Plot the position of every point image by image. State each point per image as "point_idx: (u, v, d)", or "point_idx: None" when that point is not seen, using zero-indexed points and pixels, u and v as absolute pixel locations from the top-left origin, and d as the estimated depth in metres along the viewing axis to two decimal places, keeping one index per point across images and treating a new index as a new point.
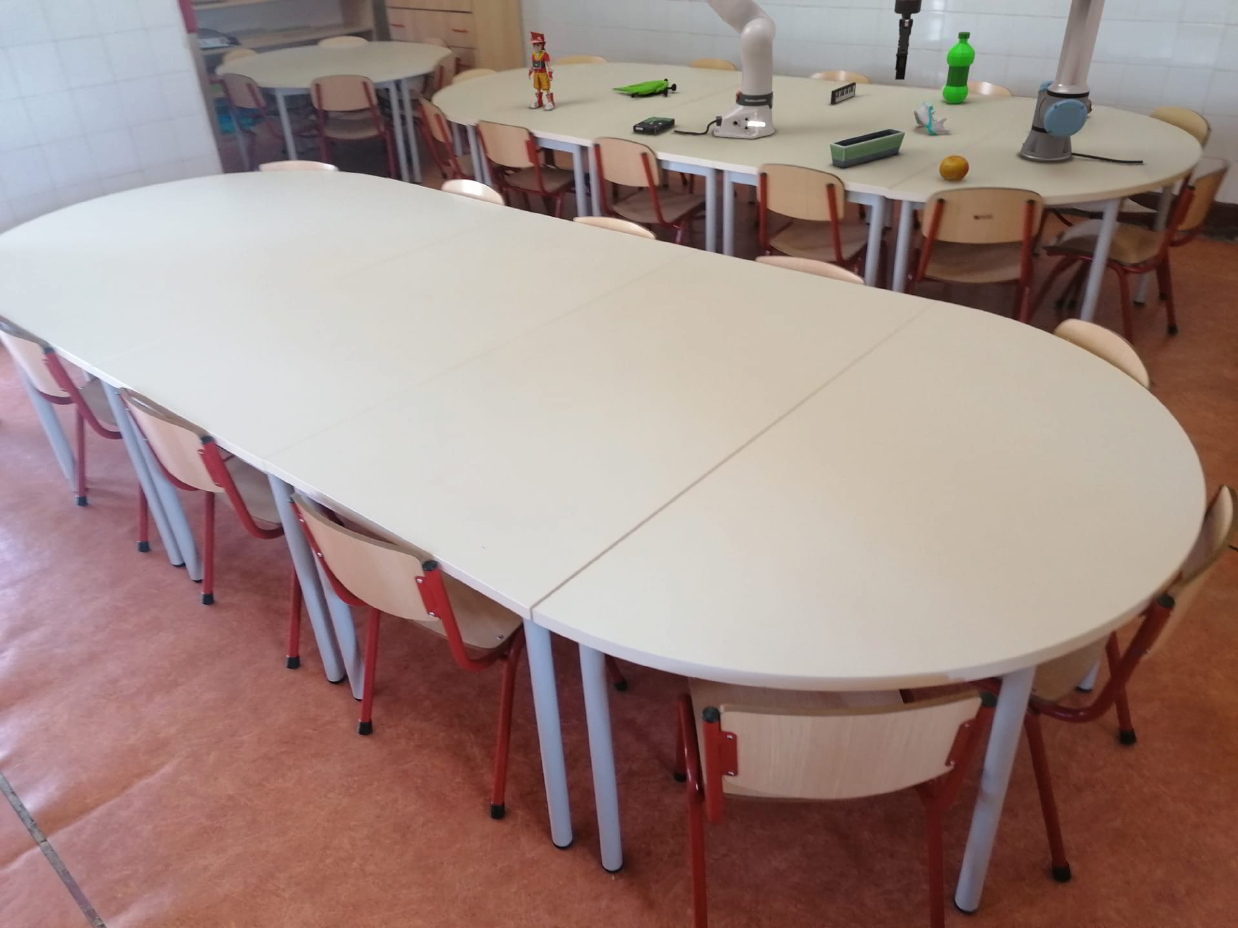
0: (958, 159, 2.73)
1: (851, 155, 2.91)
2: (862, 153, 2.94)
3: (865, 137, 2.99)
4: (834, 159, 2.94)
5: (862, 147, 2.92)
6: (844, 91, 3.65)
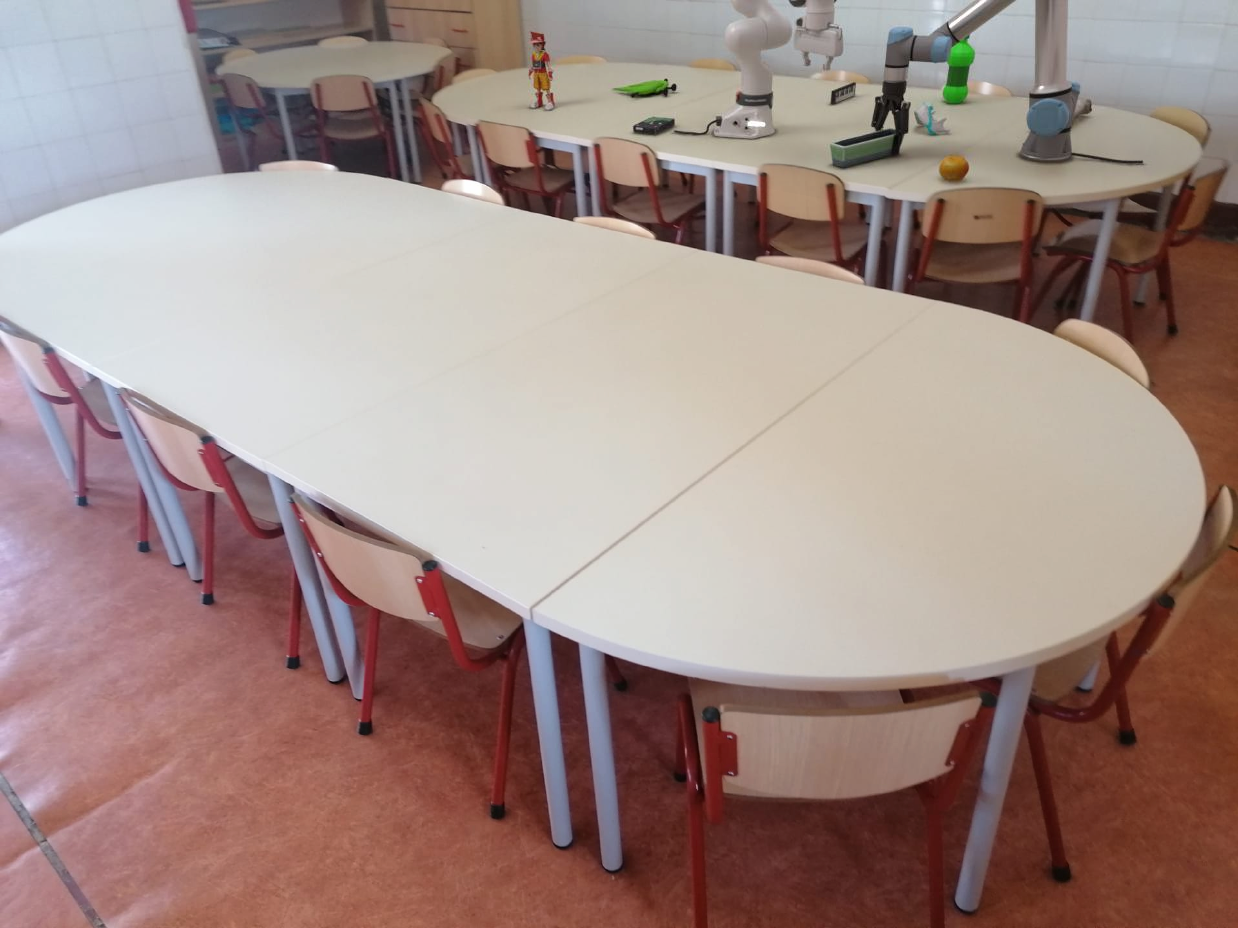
0: (958, 159, 2.73)
1: (851, 155, 2.91)
2: (862, 153, 2.94)
3: (865, 137, 2.99)
4: (834, 159, 2.94)
5: (862, 147, 2.92)
6: (844, 91, 3.65)
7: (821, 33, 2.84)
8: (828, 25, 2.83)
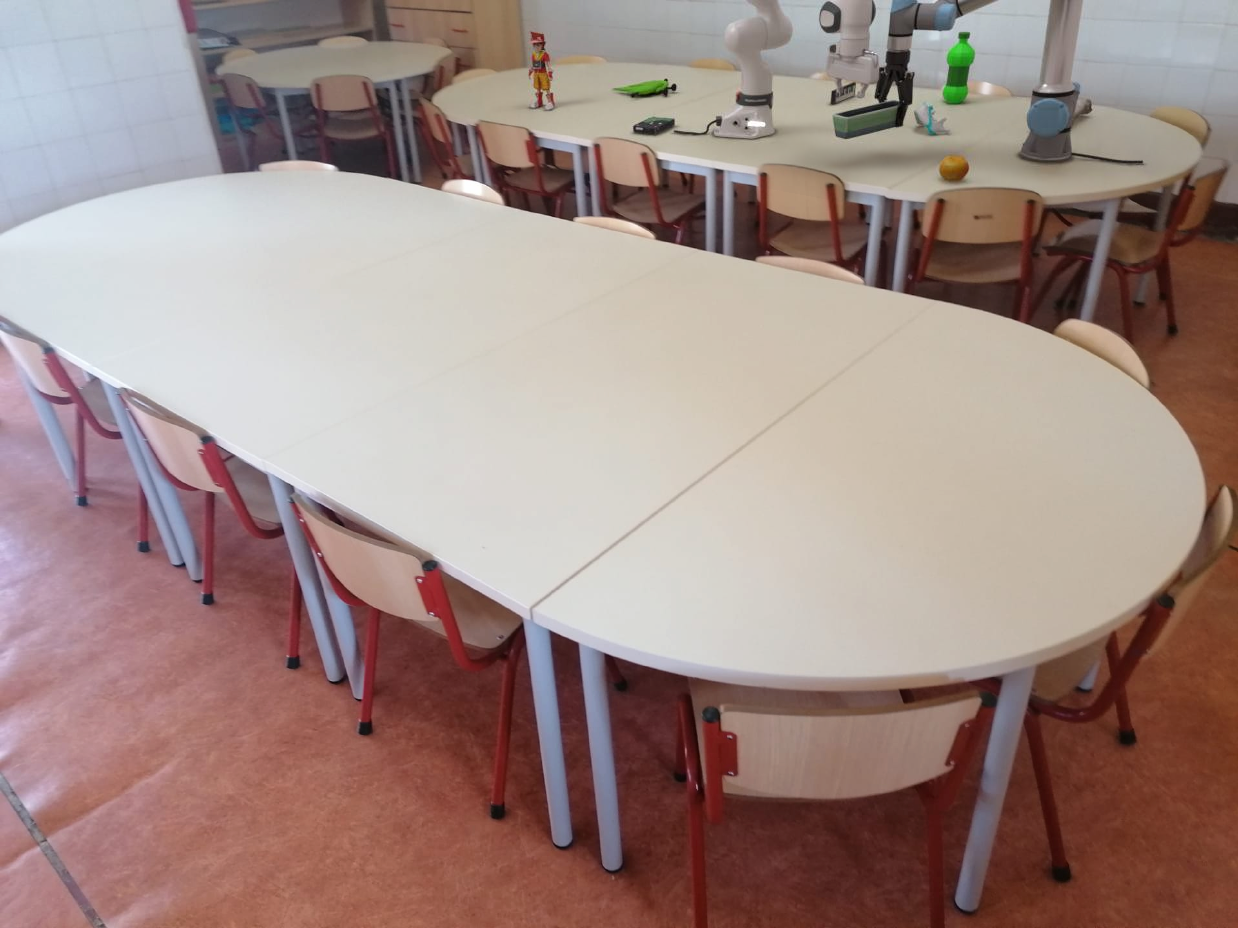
0: (958, 159, 2.73)
1: (854, 126, 2.86)
2: (865, 124, 2.88)
3: (869, 109, 2.94)
4: (837, 131, 2.89)
5: (865, 118, 2.87)
6: (844, 91, 3.65)
7: (856, 59, 2.75)
8: (863, 51, 2.73)
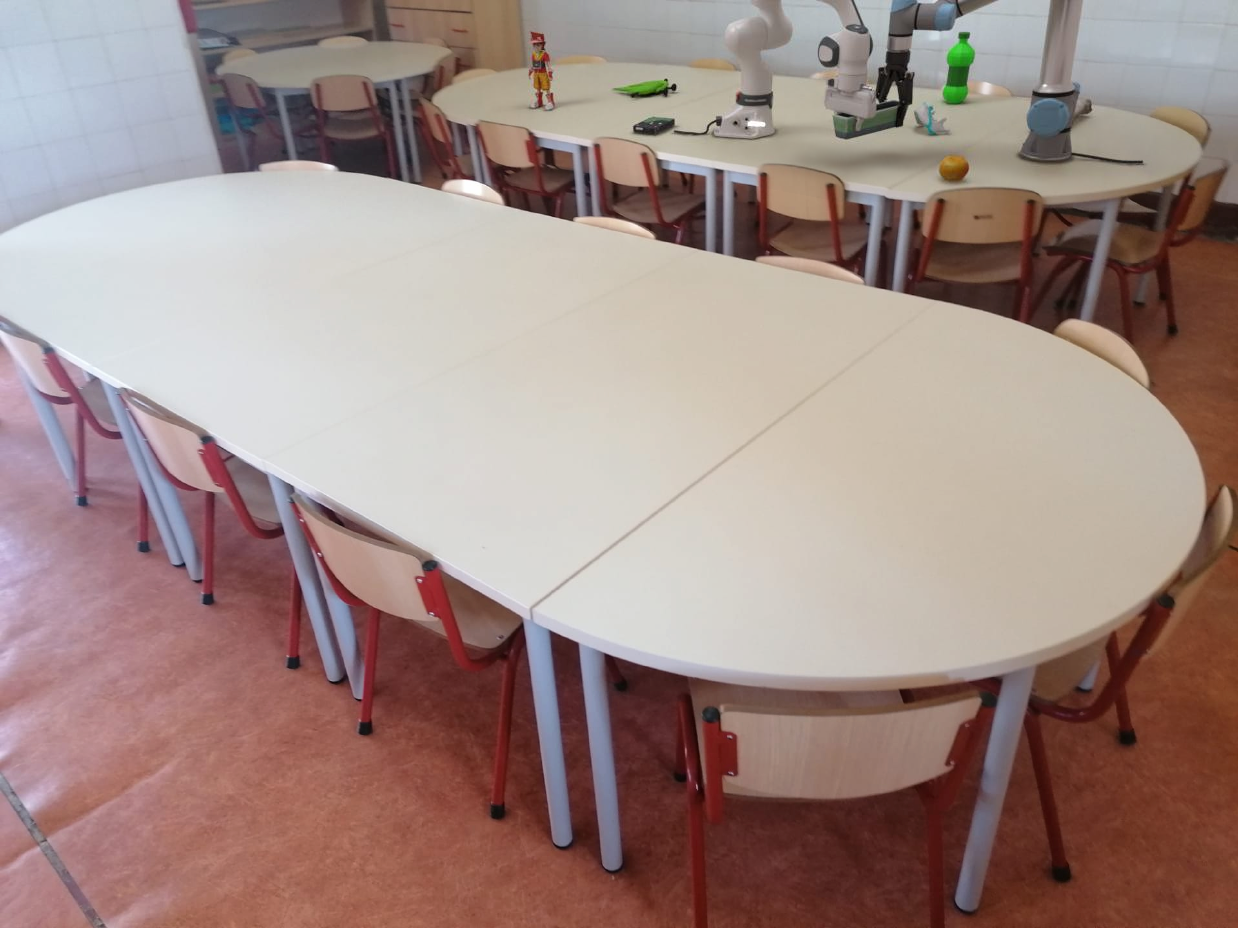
0: (958, 159, 2.73)
1: None
2: (865, 125, 2.88)
3: None
4: (837, 131, 2.89)
5: None
6: None
7: (854, 94, 2.80)
8: (861, 87, 2.78)
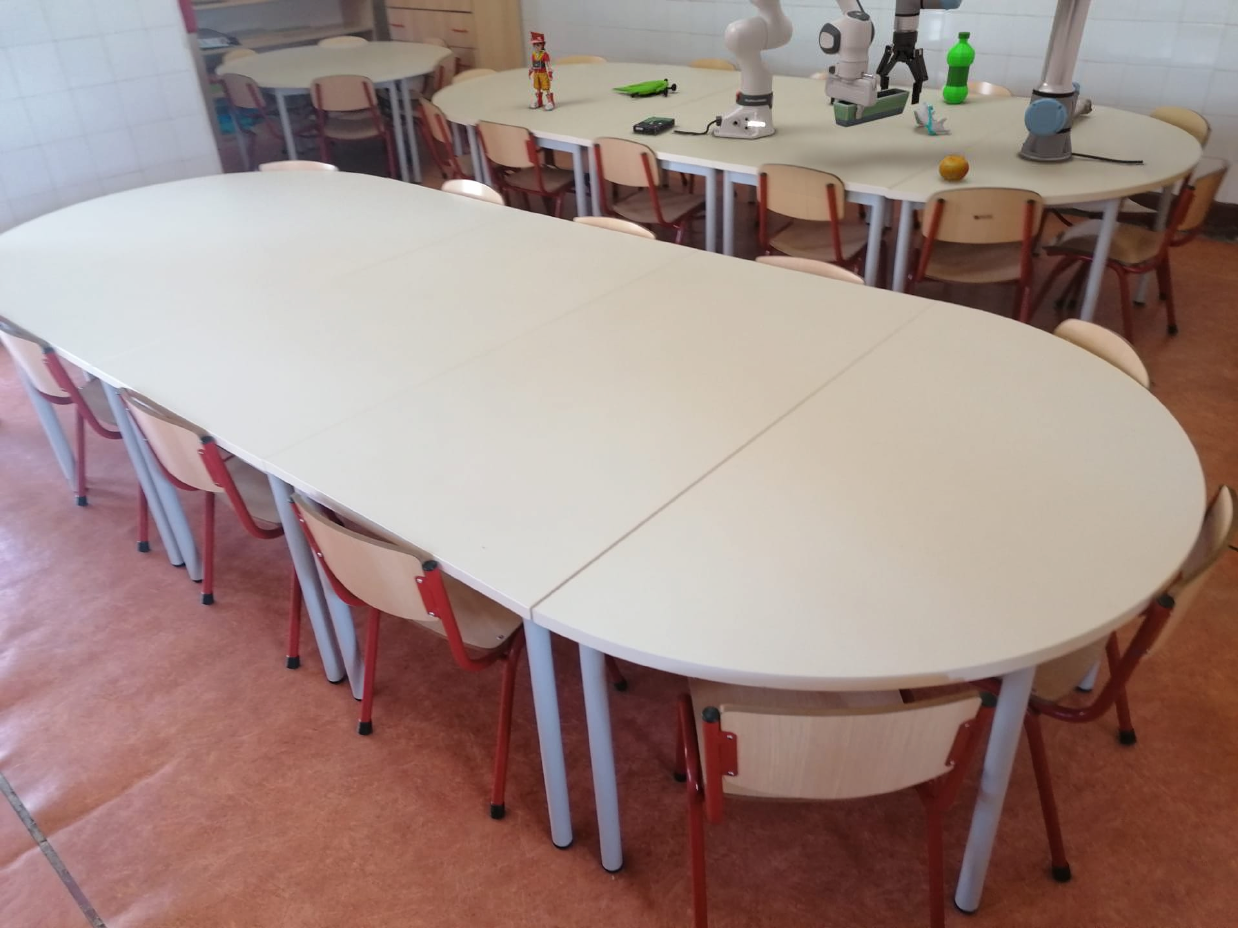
0: (958, 159, 2.73)
1: None
2: (866, 112, 2.87)
3: None
4: (837, 118, 2.87)
5: None
6: None
7: (855, 82, 2.78)
8: (862, 74, 2.76)
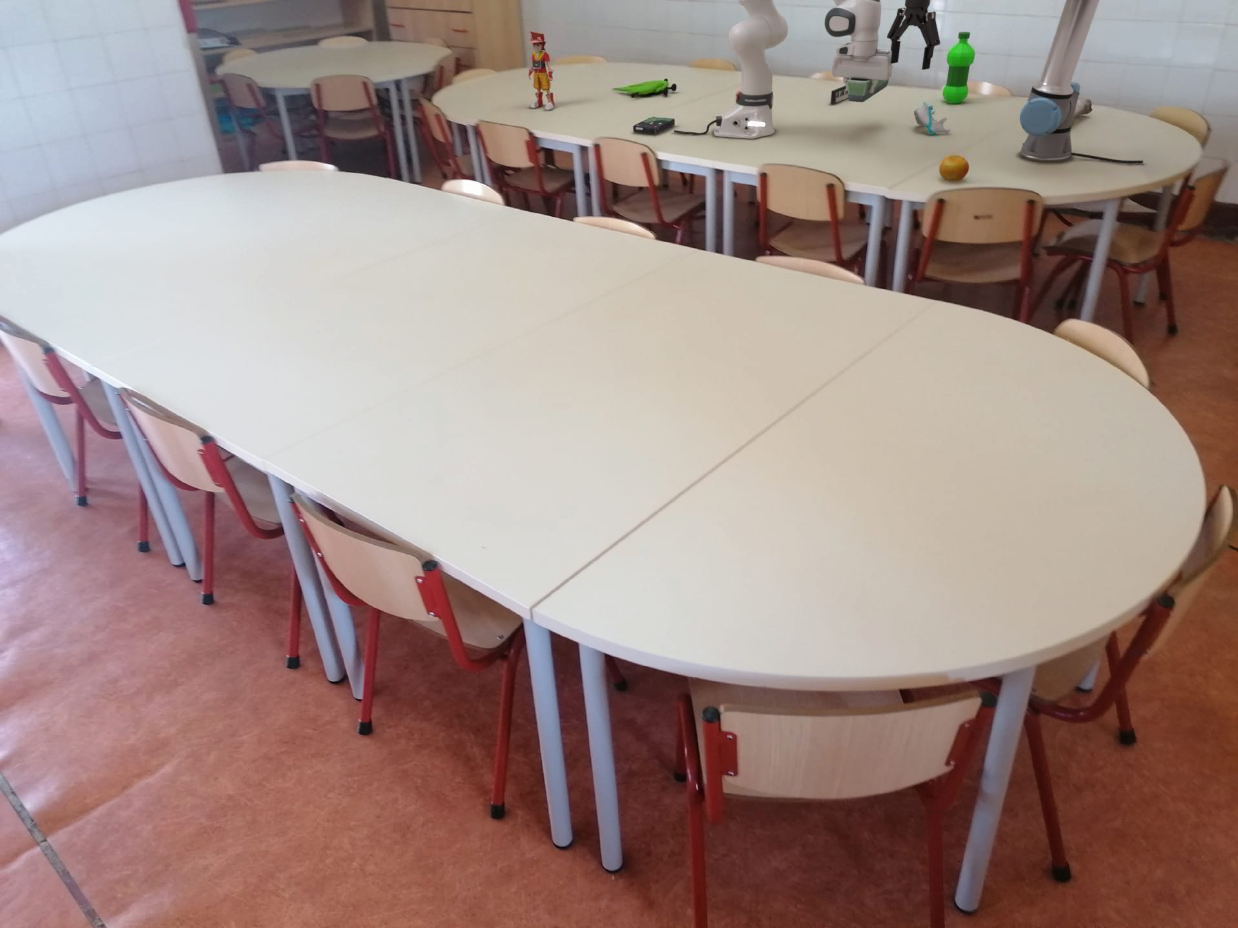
0: (958, 159, 2.73)
1: None
2: None
3: None
4: (852, 95, 3.08)
5: None
6: (844, 91, 3.65)
7: (870, 59, 3.00)
8: (876, 51, 2.99)
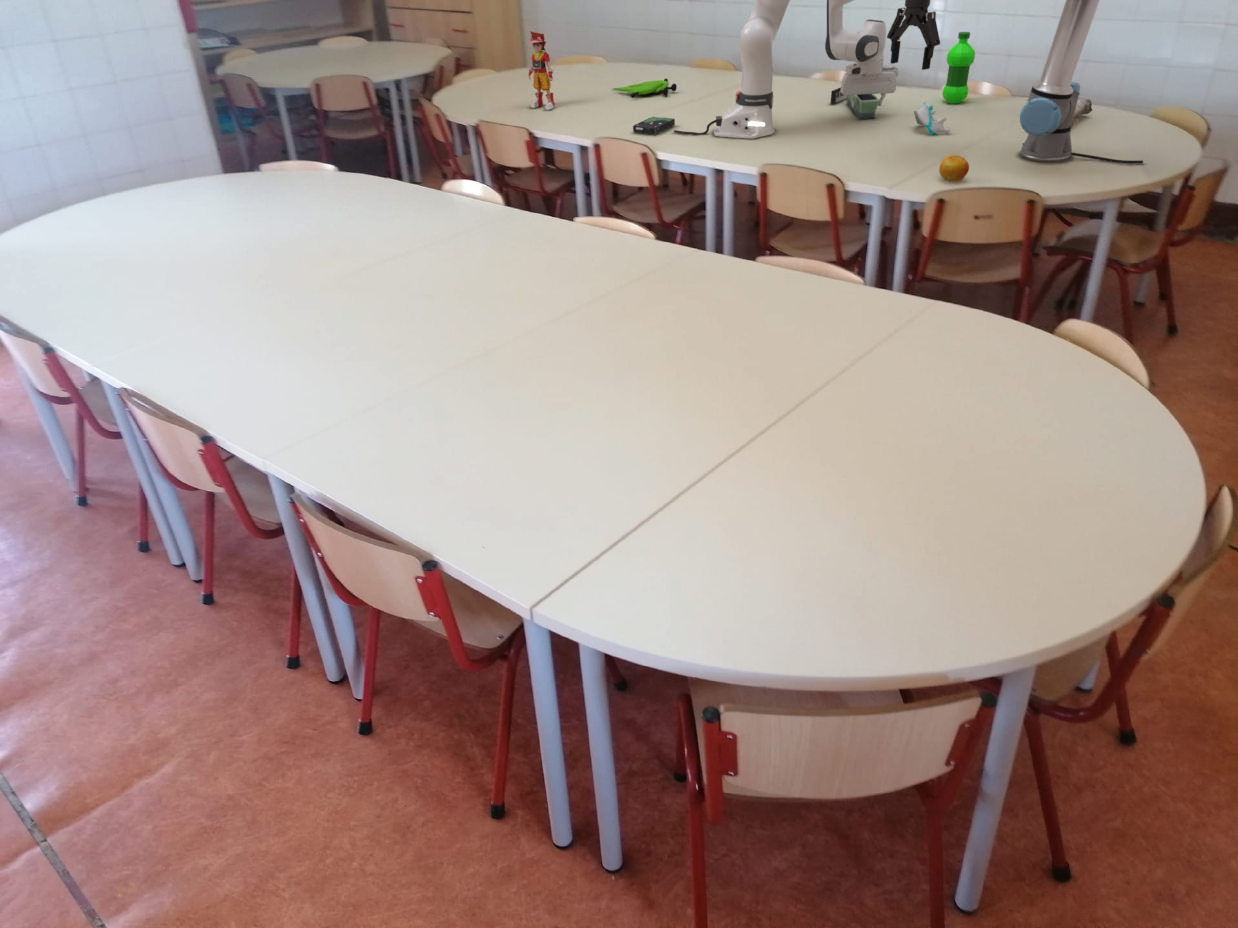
0: (958, 159, 2.73)
1: None
2: None
3: None
4: (864, 114, 3.39)
5: None
6: None
7: (879, 75, 3.33)
8: (883, 68, 3.33)
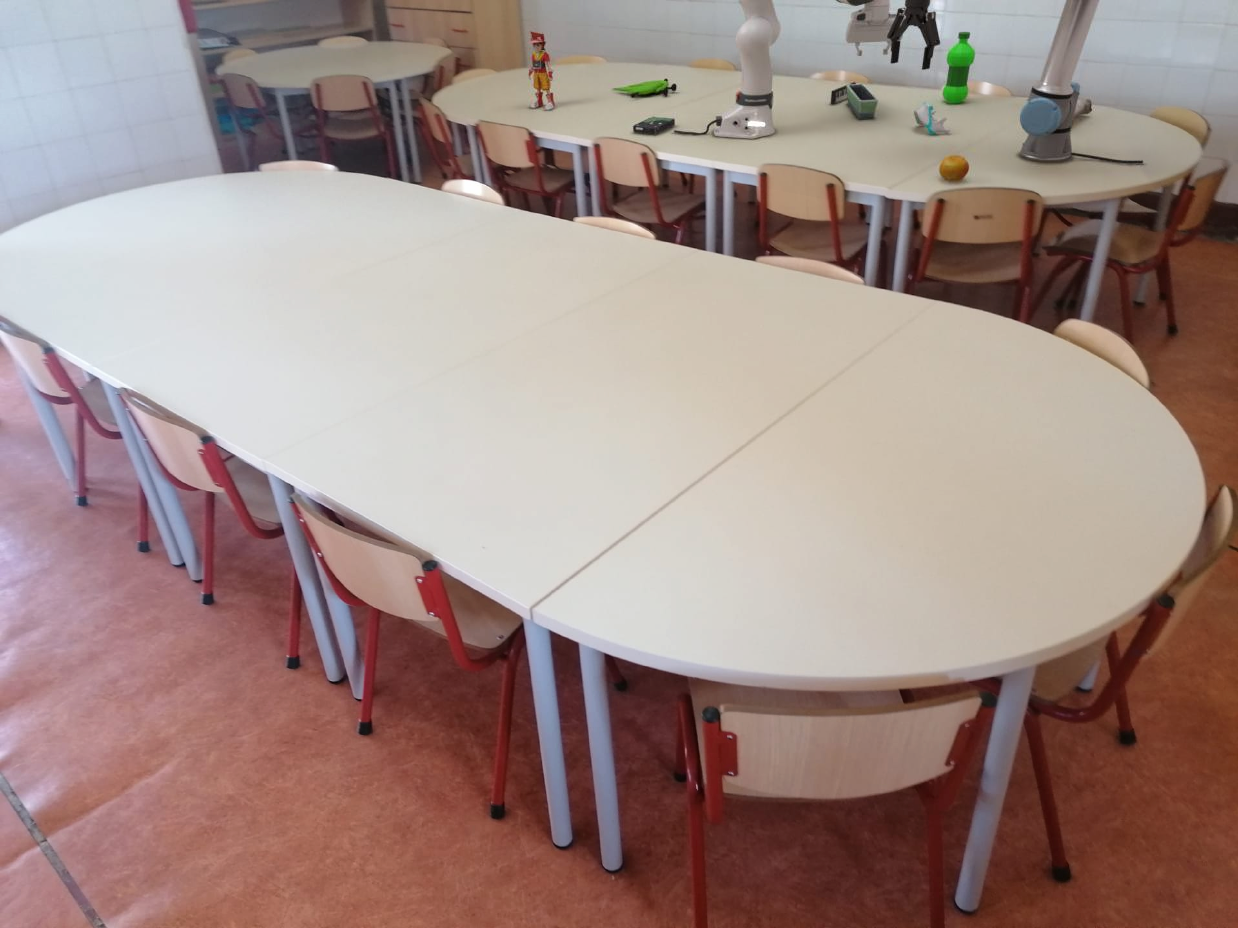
0: (958, 159, 2.73)
1: None
2: None
3: None
4: (863, 114, 3.39)
5: None
6: (844, 91, 3.65)
7: (885, 22, 3.23)
8: (889, 15, 3.22)
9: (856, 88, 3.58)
